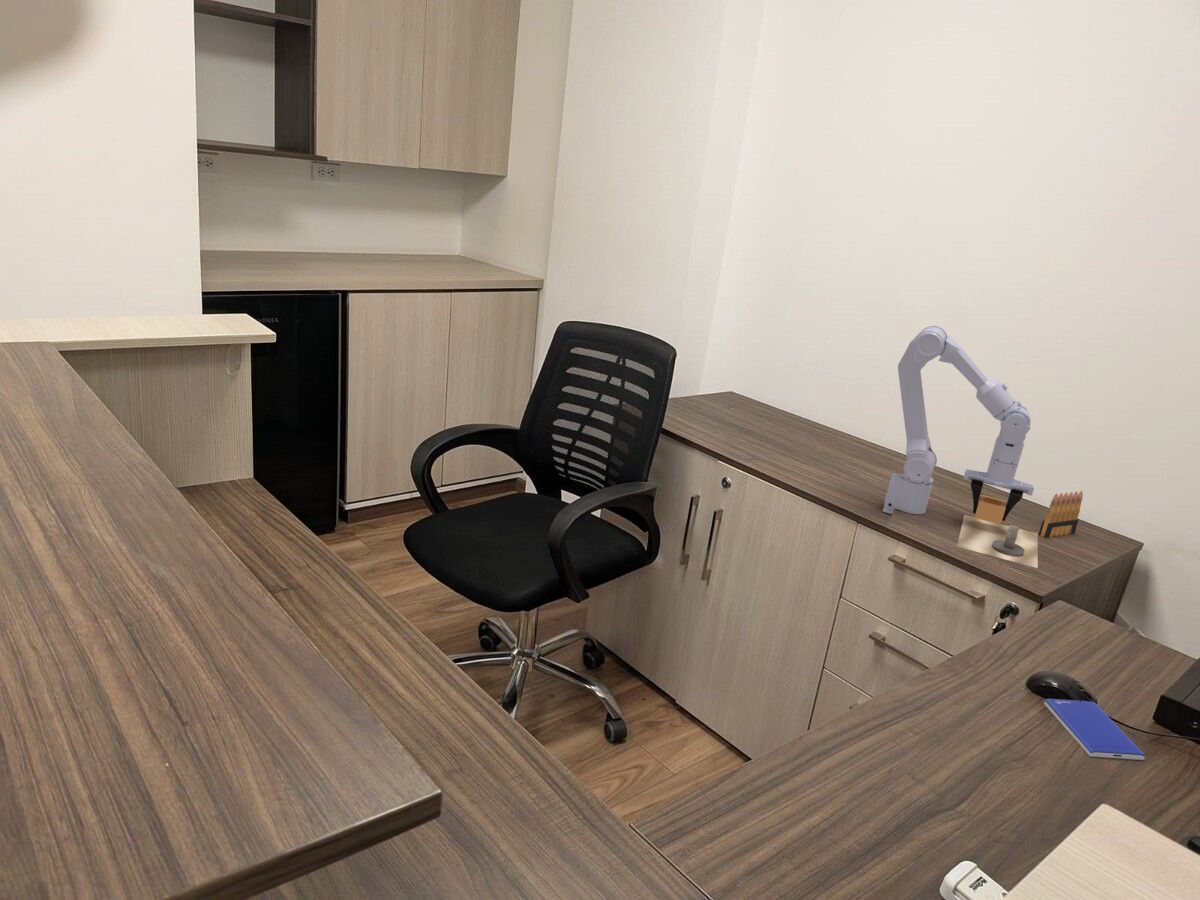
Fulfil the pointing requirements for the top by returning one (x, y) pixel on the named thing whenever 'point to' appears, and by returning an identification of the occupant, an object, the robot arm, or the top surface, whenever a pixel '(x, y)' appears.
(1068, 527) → the ammunition clip
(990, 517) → the collar
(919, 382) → the robot arm
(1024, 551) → the post board
